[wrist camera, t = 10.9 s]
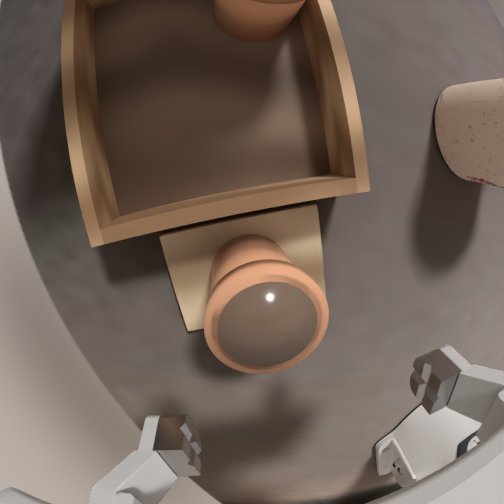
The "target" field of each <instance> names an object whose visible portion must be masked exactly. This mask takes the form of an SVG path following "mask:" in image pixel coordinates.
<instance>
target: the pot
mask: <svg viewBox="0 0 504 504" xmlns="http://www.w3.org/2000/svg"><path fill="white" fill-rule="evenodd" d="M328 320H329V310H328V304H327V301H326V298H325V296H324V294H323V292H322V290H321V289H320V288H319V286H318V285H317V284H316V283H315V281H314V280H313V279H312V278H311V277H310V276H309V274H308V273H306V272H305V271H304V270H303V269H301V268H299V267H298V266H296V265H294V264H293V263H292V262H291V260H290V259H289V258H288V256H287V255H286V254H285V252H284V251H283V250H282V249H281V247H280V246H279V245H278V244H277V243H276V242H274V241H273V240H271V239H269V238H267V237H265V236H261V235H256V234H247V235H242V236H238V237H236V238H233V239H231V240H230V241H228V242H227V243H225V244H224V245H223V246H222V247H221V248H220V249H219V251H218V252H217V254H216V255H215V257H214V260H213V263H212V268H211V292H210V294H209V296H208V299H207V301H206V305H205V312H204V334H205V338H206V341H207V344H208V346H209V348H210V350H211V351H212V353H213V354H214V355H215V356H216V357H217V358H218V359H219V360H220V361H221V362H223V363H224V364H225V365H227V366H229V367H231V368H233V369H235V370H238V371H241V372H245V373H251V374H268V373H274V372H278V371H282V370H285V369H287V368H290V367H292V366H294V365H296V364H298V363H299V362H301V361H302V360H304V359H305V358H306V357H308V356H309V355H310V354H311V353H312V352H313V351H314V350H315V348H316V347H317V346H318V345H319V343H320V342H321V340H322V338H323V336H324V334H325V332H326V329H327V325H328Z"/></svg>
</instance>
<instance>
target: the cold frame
mask: <svg viewBox="0 0 504 504" xmlns="http://www.w3.org/2000/svg"><path fill="white" fill-rule="evenodd" d="M61 75H62V95H63V108H64V118H65V127H66V135H67V142H68V148H69V155H70V160H71V166H72V171H73V177H74V181H75V186H76V191H77V195H78V199H79V204H80V208H81V212H82V216H83V219H84V223H85V227H86V230H87V234H88V237H89V241H90V244H91V247H96V246H100V245H103V244H107V243H111V242H115V241H119V240H123V239H127V238H131V237H136V236H140V235H144V234H148V233H152V232H157V231H161V230H165V229H170V228H174V227H179V226H183V225H188V224H192V223H197V222H201V221H206V220H211V219H216V218H220V217H225V216H230V215H235V214H240V213H245V212H250V211H255V210H261V209H266V208H271V207H277V206H282V205H288V204H293V203H299V202H305V201H310V200H316V199H322V198H328V197H334V196H341V195H347V194H353V193H360V192H367V191H370V185H369V175H368V166H367V157H366V150H365V142H364V136H363V129H362V123H361V117H360V112H359V106H358V101H357V96H356V91H355V86H354V82H353V77H352V73H351V69H350V65H349V61H348V57H347V53H346V49H345V45H344V42H343V38H342V35H341V32H340V28H339V25H338V22H337V19H336V15H335V12H334V9H333V6H332V4H331V1H330V0H306V1H305V2H304V4H303V5H302V7H301V8H300V10H299V11H298V13H297V14H296V16H295V17H294V19H293V20H292V22H291V24H290V25H289V27H288V28H287V30H286V31H285V32H284V33H283V34H282V35H280V36H279V37H277V38H275V39H272V40H270V41H265V42H246V41H241V40H238V39H235V38H233V37H231V36H229V35H227V34H225V33H224V32H223V31H222V30H221V29H220V28H219V27H218V26H217V24H216V22H215V20H214V17H213V0H65V1H64V10H63V22H62V41H61Z"/></svg>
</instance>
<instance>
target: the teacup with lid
mask: <svg viewBox="0 0 504 504" xmlns="http://www.w3.org/2000/svg"><path fill="white" fill-rule="evenodd" d="M435 130H436V136H437V141H438V144H439V148H440V150H441V153H442V155H443V157H444V159H445V161H446V163H447V165H448V166H449V167H450V169H451V170H452V171H453V172H454V173H455V174H456V175H457V176H459V177H460V178H462V179H465V180H469V181H474V182H479V183H484V184H489V185H493V186H498V187H502V188H504V78H503V79H494V80H486V81H478V82H471V83H465V84H459V85H453V86H450V87H448V88H446V89H445V90H444V91H443V92H442V93H441V95H440V96H439V98H438V101H437V105H436V109H435Z"/></svg>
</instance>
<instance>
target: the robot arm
mask: <svg viewBox="0 0 504 504" xmlns="http://www.w3.org/2000/svg"><path fill="white" fill-rule="evenodd" d="M413 367H414V369H415V370H414V372H413V373H412V374H411V377H410V386H411V390H412V392H413V393H414V395H415V396H416V397H418V398H421V399H422V402H421V404H422V405H420V406H419V407H418V408H417V409H416V410H414V411H413V412H412V413H411V414H410V415H409V416H408V417H407V418H406V419H405V420H404V421H403V422H402V423H401V424H400V425H399V426H398V427H397V428H396V429H395V430H394V431H393V432H391V433H390V434H388V435H387V436H386V437H384V438H383V439H382V440H380V441H379V442H378V443H377V444H376V445H375V449H376V464H377V473H378V474H379V475H385V474H388V473H391V472H392V473H393V475H394V477H395V478H396V480H397V482H398V483H399V485H400V486H401V487H404V488H402V489H400V490H398V491H395V492H393V493H391V494H389V495H386V496H384V497H381V498H379V499H376V500H374V501H371V502H368V503H366V504H504V371H500V370H495V369H491V368H487V367H483V366H479V365H475V364H474V365H472V366H471V365H470V364H469V363H468V362H467V361H466V360H465V359H464V358H463V357H462V356H461V355H460V354H459V353H458V352H456V351H455V350H454V349H453V348H452V347H451V346H450V345H447V344H446V345H444V346H442V347H440V348H438V349H436V350H433V351H431V352H429V353H427V354H425V355H422V356H420V357H418V358H416V359H415V361H414V363H413ZM201 451H202V443H201V437H200V433H199V431H198V429H197V428H196V427H195V426H193V420H192V418H191V416H190V415H189V414H183V415H148V416H147V417H146V419H145V422H144V426H143V430H142V435H141V438H140V443H139V447H138V450H134V451H133V452H132V453H130V454H129V455H128V456H127V457H126V458H125V459H124V460H123V461H122V462H121V463H119V464H118V465H117V466H116V467H115V468H114V469H113V470H112V471H111V472H109V473H108V474H107V475H106V476H105V477H104V478H103V479H101V480H100V481H99V482H98V483H97V484H96V485H94V486H93V489H92V493H91V496H90V500H89V504H158V503H159V502H160V501H161V499H162V498H163V497H164V495H165V494H166V493H167V491H168V490H169V489H170V487H171V486H172V485H173V483H174V482H175V481H176V479H177V478H178V477H177V476H199V475H201V460H200V458H199V456H198V454H199V453H200V452H201ZM0 504H51V503H48V502H45V501H43V500H41V499H38V498H36V497H33V496H31V495H29V494H27V493H25V492H23V491H21V490H18V489H16V488H7V489H4V490H2V491H1V492H0Z"/></svg>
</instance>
